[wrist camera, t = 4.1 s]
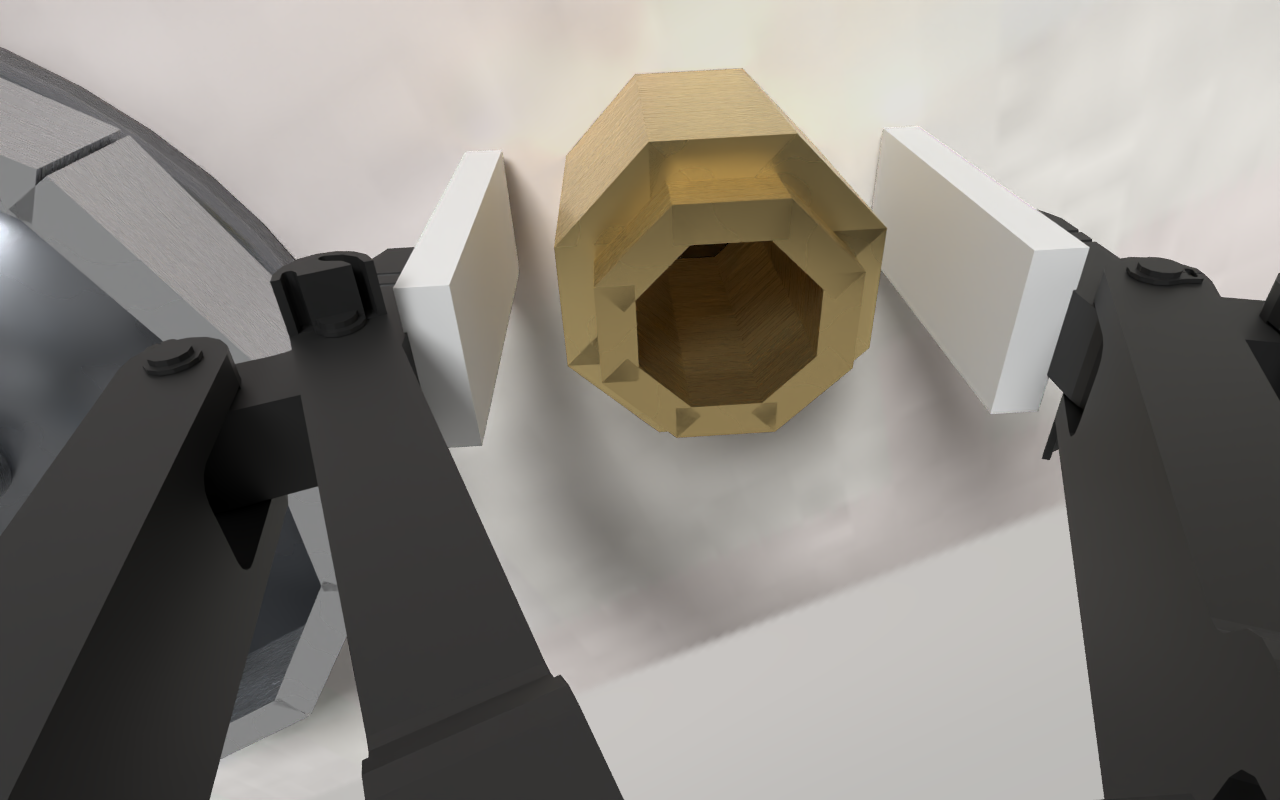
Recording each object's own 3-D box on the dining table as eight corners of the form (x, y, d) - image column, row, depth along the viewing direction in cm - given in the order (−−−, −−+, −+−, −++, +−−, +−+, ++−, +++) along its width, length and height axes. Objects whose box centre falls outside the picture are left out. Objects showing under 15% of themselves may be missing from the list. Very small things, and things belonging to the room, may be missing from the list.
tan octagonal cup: (581, 312, 18) (574, 472, 13) (558, 78, 15) (537, 168, 10) (798, 298, 18) (874, 453, 13) (818, 63, 15) (927, 146, 10)
